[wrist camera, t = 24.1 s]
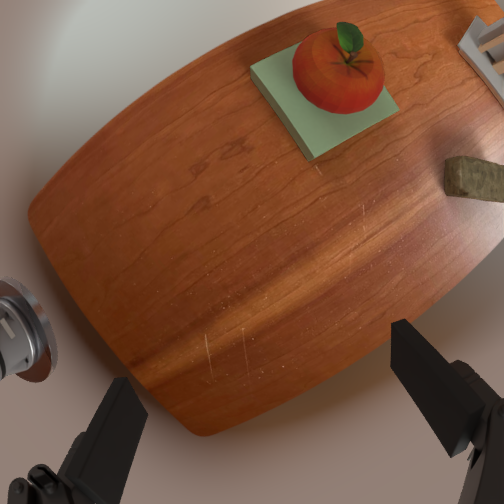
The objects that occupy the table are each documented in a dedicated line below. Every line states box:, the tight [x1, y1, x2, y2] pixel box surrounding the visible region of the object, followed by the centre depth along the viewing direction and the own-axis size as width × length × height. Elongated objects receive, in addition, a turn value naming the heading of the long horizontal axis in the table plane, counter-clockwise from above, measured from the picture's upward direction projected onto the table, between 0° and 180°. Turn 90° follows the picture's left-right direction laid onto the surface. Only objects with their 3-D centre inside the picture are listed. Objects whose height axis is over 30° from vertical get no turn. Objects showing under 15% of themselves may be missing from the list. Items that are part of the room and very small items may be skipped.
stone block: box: [444, 156, 504, 203], centre depth 31 cm, size 6×12×5 cm, turn 92°
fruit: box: [292, 22, 385, 115], centre depth 24 cm, size 10×10×10 cm
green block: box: [250, 42, 399, 162], centre depth 30 cm, size 13×13×4 cm
